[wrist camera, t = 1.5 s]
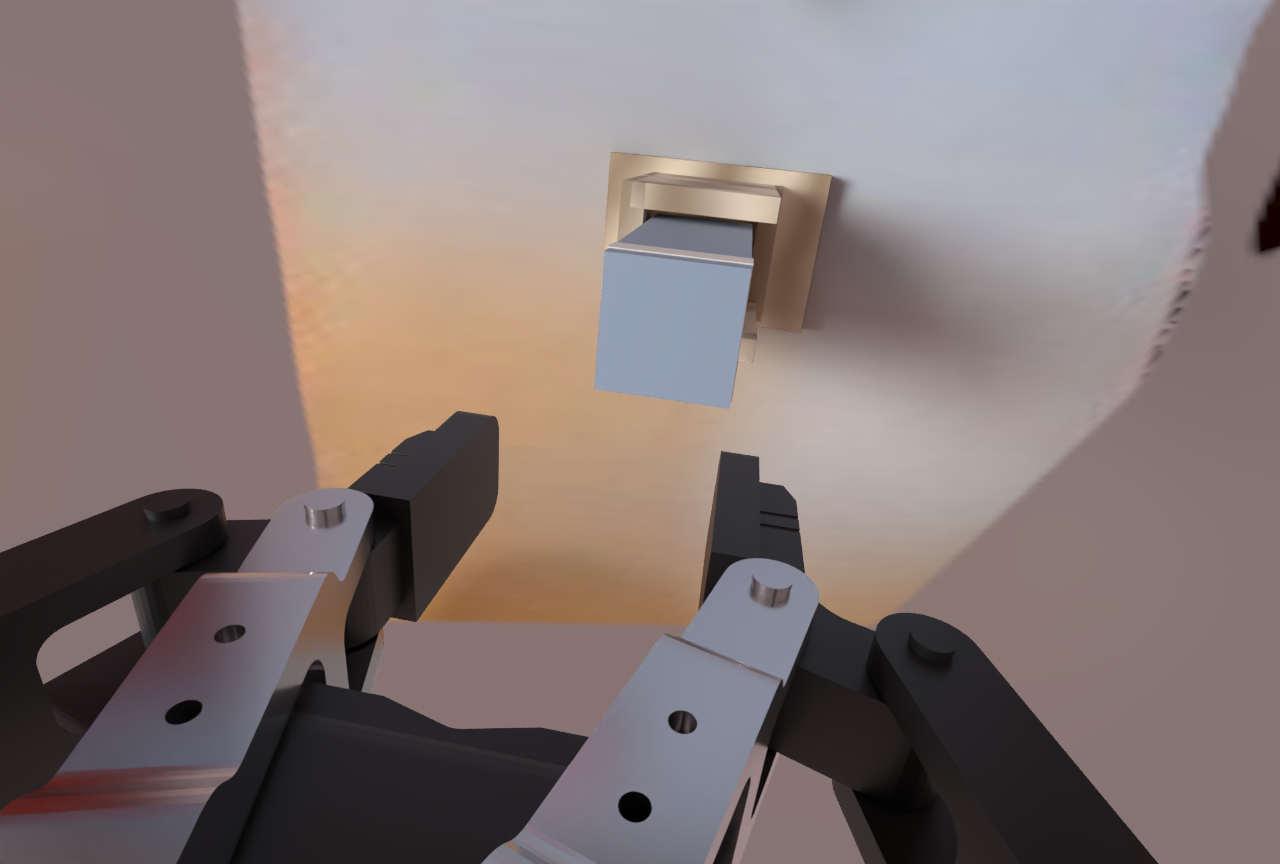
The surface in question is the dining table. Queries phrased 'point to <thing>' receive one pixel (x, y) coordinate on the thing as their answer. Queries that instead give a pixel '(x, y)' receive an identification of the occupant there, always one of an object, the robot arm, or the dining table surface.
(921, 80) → the dining table surface
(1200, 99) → the dining table surface
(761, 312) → the tan frame
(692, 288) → the block
